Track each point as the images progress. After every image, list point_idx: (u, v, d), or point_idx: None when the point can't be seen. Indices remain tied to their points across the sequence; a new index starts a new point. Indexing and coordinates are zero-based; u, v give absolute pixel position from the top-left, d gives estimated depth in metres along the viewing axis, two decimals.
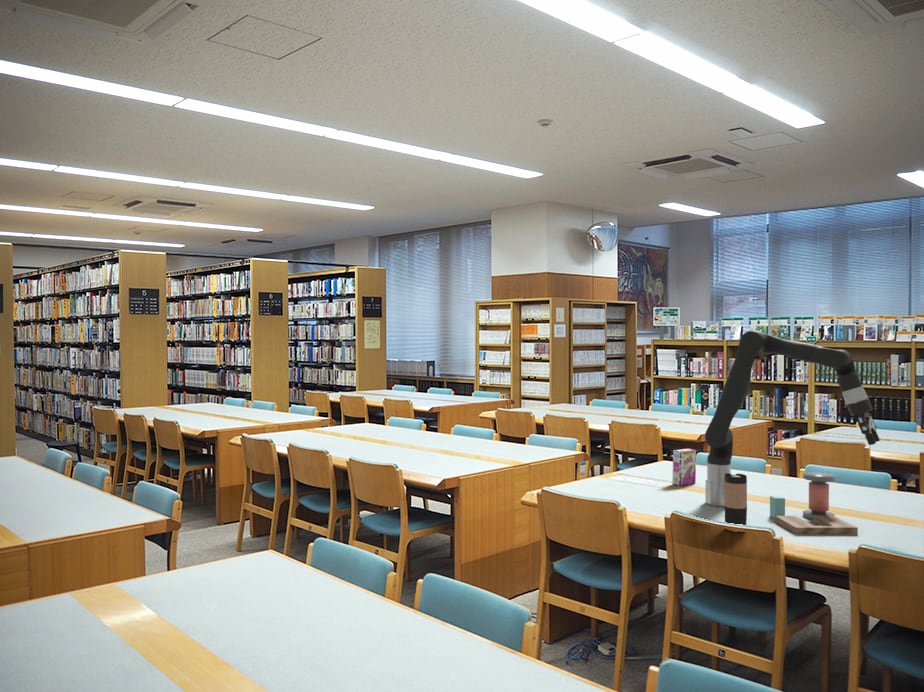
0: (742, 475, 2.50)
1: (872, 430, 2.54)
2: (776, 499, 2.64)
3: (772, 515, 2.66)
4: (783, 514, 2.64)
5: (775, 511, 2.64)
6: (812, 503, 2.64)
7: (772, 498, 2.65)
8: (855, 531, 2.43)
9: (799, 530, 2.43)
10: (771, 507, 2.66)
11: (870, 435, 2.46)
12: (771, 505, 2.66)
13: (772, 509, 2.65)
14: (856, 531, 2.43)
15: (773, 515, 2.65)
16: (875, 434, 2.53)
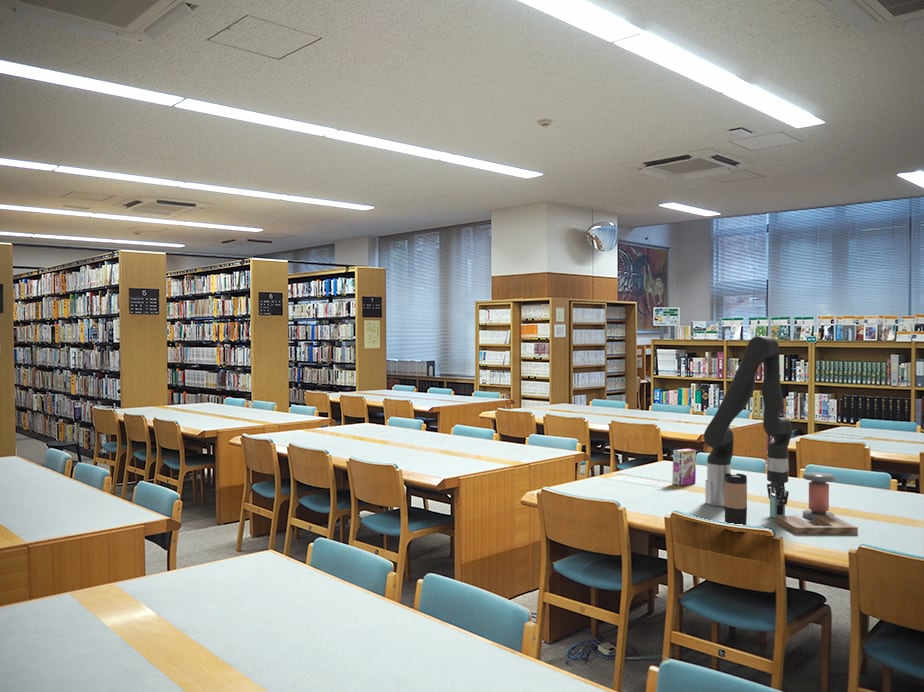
0: (742, 475, 2.50)
1: None
2: (776, 499, 2.64)
3: (772, 515, 2.66)
4: (783, 514, 2.64)
5: (775, 511, 2.64)
6: (812, 503, 2.64)
7: (772, 498, 2.66)
8: (855, 531, 2.43)
9: (799, 530, 2.43)
10: (771, 507, 2.66)
11: None
12: (771, 505, 2.66)
13: (772, 509, 2.66)
14: (856, 531, 2.43)
15: (773, 515, 2.65)
16: None
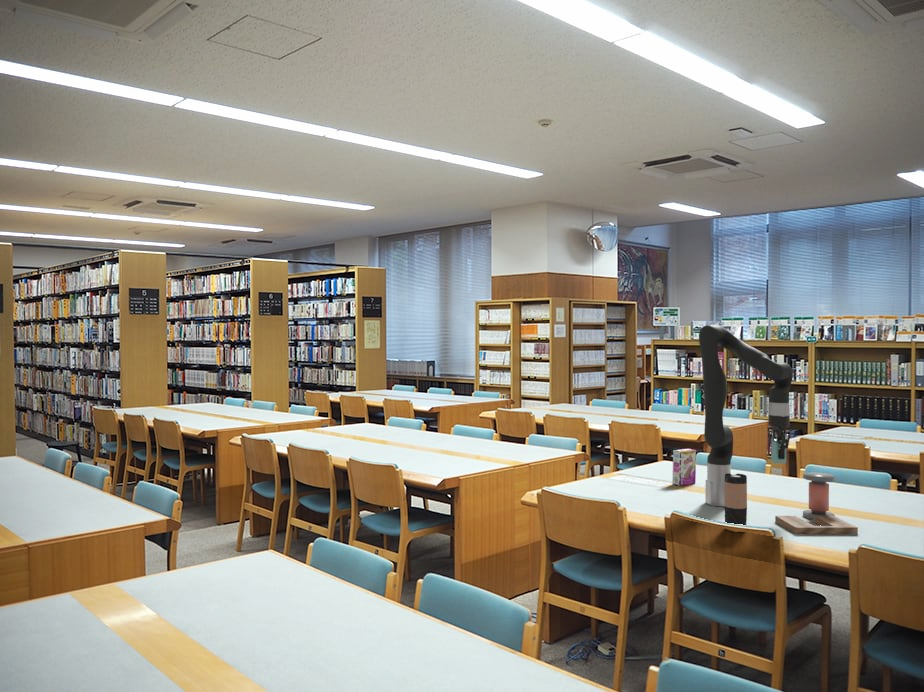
0: (742, 475, 2.50)
1: None
2: (777, 443, 2.64)
3: (773, 460, 2.66)
4: None
5: (776, 455, 2.64)
6: (812, 503, 2.64)
7: (773, 443, 2.66)
8: (855, 531, 2.43)
9: (799, 530, 2.43)
10: (772, 452, 2.67)
11: (784, 451, 2.63)
12: (773, 450, 2.66)
13: (773, 454, 2.66)
14: (856, 531, 2.43)
15: (774, 460, 2.65)
16: None
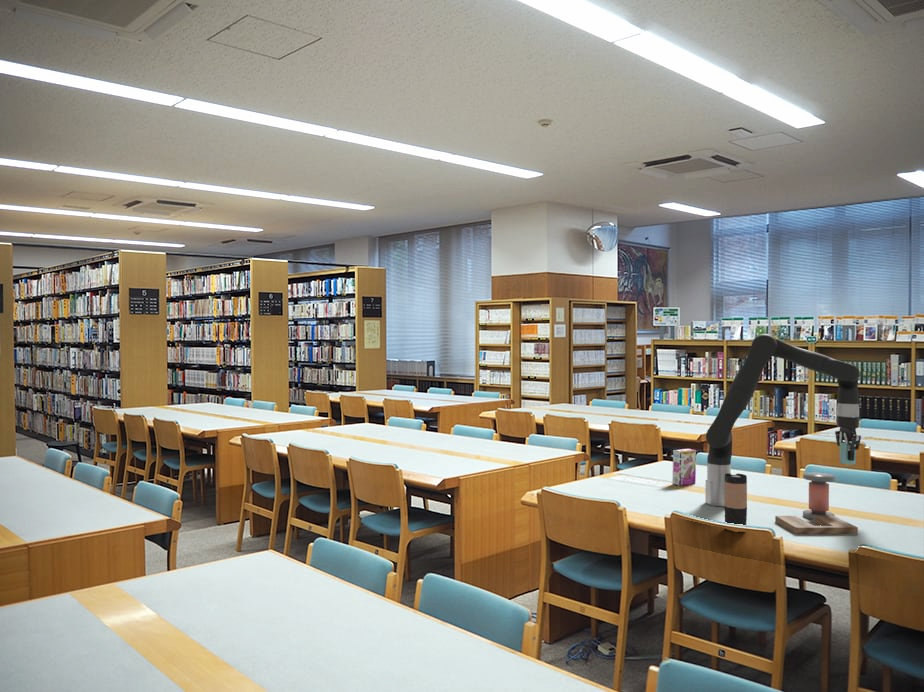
0: (742, 475, 2.50)
1: None
2: None
3: (842, 461, 2.64)
4: (854, 460, 2.62)
5: (846, 456, 2.62)
6: (812, 503, 2.64)
7: (842, 444, 2.64)
8: (855, 531, 2.43)
9: (799, 530, 2.43)
10: (841, 453, 2.65)
11: None
12: (841, 451, 2.64)
13: (842, 455, 2.64)
14: (856, 531, 2.43)
15: (843, 461, 2.63)
16: None
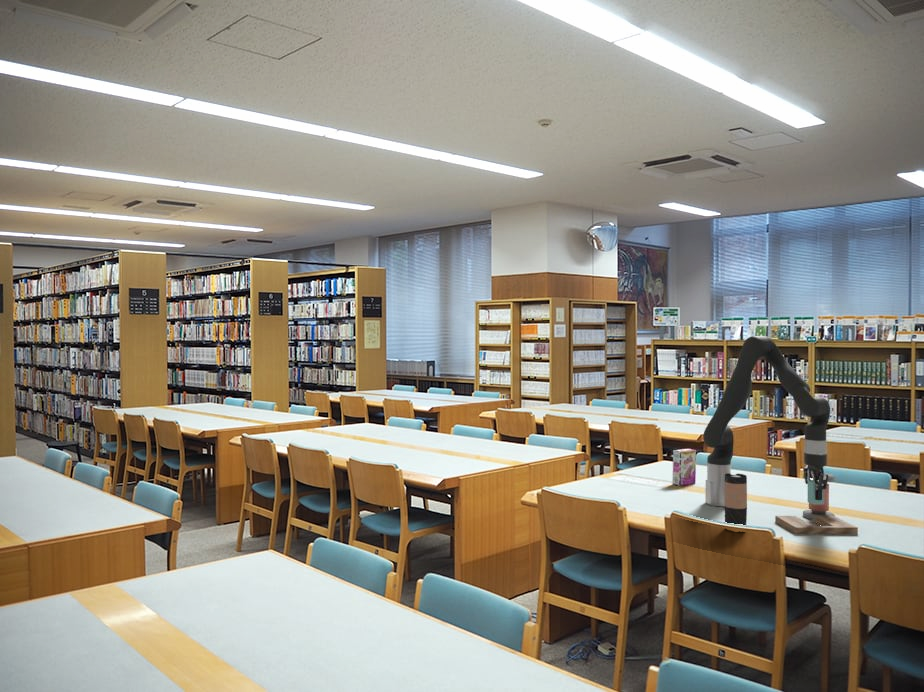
0: (742, 475, 2.50)
1: None
2: None
3: (810, 501, 2.50)
4: (822, 499, 2.48)
5: (813, 496, 2.48)
6: None
7: (810, 482, 2.50)
8: (855, 531, 2.43)
9: (799, 530, 2.43)
10: (809, 492, 2.51)
11: (821, 491, 2.47)
12: (809, 490, 2.51)
13: (810, 494, 2.50)
14: (856, 531, 2.43)
15: (811, 500, 2.49)
16: None
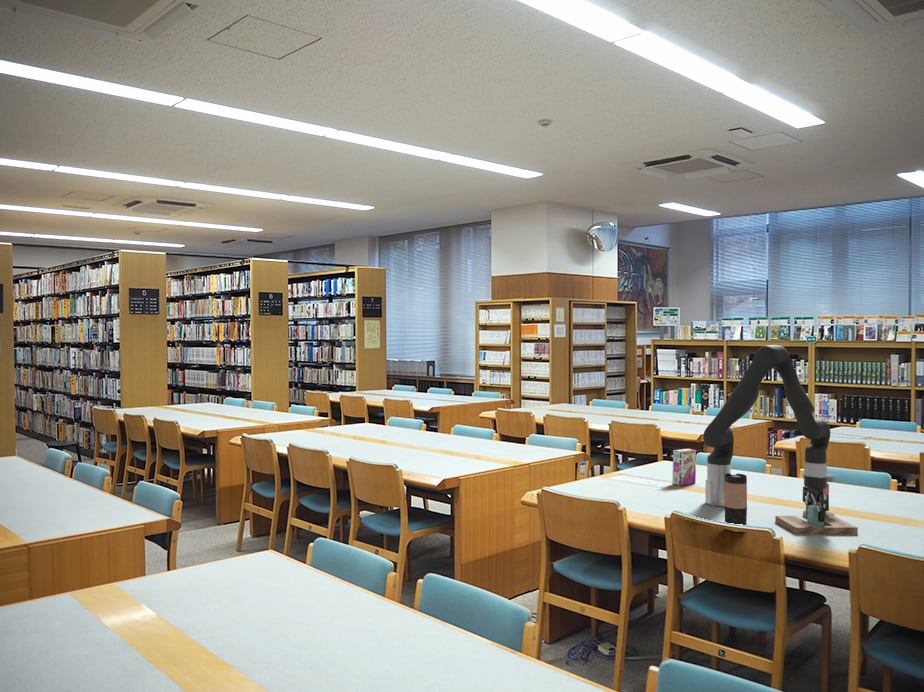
0: (742, 475, 2.50)
1: (810, 504, 2.55)
2: (814, 509, 2.49)
3: None
4: (822, 525, 2.49)
5: (813, 521, 2.49)
6: None
7: (810, 508, 2.51)
8: (855, 531, 2.43)
9: (799, 530, 2.43)
10: (808, 517, 2.51)
11: (824, 513, 2.45)
12: (809, 515, 2.51)
13: (810, 519, 2.51)
14: (856, 531, 2.43)
15: None
16: None
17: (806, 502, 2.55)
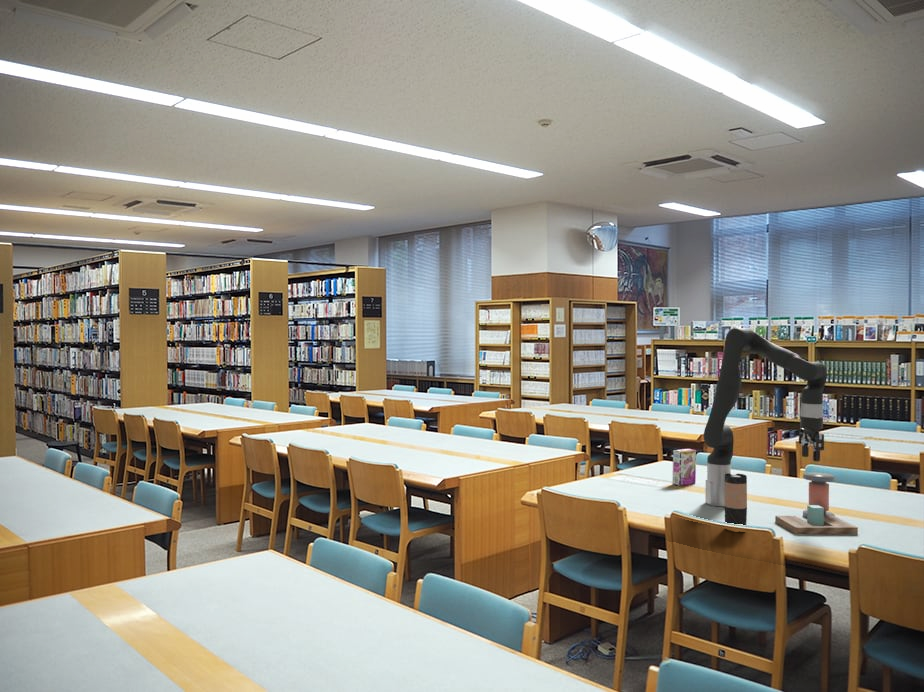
0: (742, 475, 2.50)
1: (805, 445, 2.58)
2: (814, 509, 2.49)
3: None
4: (822, 525, 2.49)
5: (813, 521, 2.49)
6: (812, 503, 2.64)
7: (810, 508, 2.51)
8: (855, 531, 2.43)
9: (799, 530, 2.43)
10: (809, 517, 2.51)
11: (819, 452, 2.49)
12: (809, 515, 2.51)
13: (810, 519, 2.51)
14: (856, 531, 2.43)
15: None
16: (807, 450, 2.58)
17: (802, 443, 2.58)
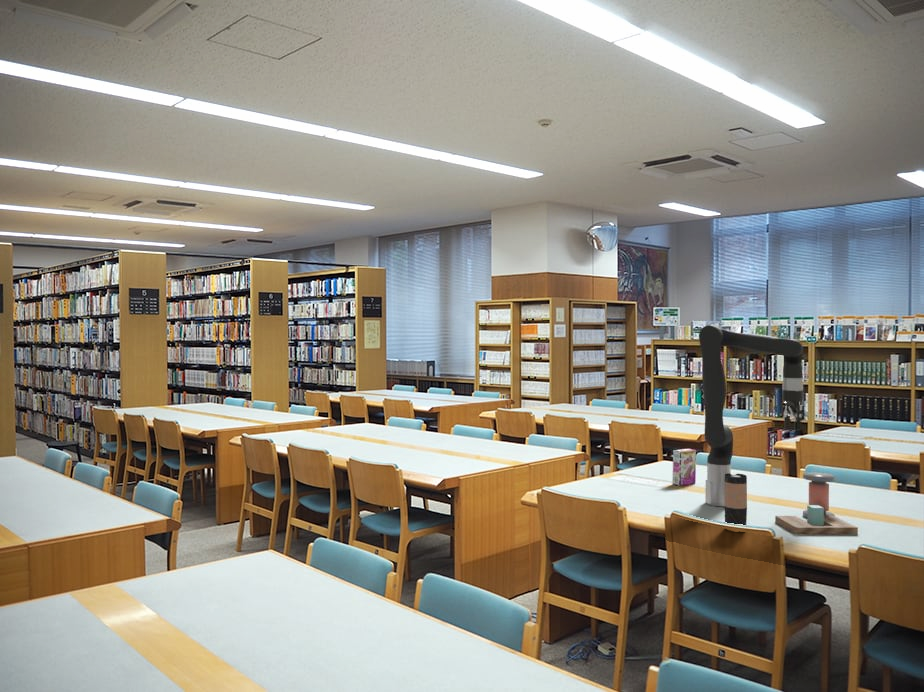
0: (742, 475, 2.50)
1: (788, 417, 2.78)
2: (814, 509, 2.49)
3: None
4: (822, 525, 2.49)
5: (813, 521, 2.49)
6: (812, 503, 2.64)
7: (810, 508, 2.51)
8: (855, 531, 2.43)
9: (799, 530, 2.43)
10: (808, 517, 2.51)
11: (800, 422, 2.69)
12: (809, 515, 2.51)
13: (810, 519, 2.51)
14: (856, 531, 2.43)
15: None
16: (789, 421, 2.78)
17: (784, 416, 2.78)
